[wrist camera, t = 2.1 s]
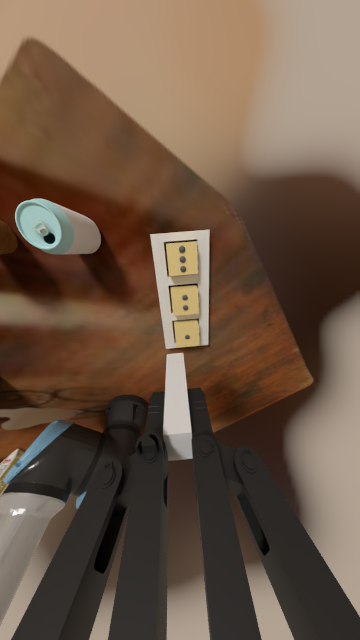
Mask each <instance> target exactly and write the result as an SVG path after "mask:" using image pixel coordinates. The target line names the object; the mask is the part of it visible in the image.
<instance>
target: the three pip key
mask: <svg viewBox="0 0 360 640" xmlns="http://www.w3.org/2000/svg"><path fill="white" fill-rule="evenodd" d="M166 250H167V260H168V270H169V276H178V275H190V274H198V254H197V251H198V245H197V241H193V242H181V243H168V244H166Z"/></svg>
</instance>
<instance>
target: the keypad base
mask: <svg viewBox="0 0 360 640" xmlns="http://www.w3.org/2000/svg"><path fill="white" fill-rule="evenodd" d="M150 236H151V244H152V251H153V258H154V265H155V272H156V280H157V287H158V294H159V301H160V308H161V316H162V323H163V330H164V337H165V345H166V349H169V348H176V339H174V331H173V322H172V321H175V320H186V319H198V324H199V333H200V336H199V346H201V345H208V331H209V230H200V231H188V232H175V233H162V234H150ZM191 240H196V241H197V245H198V251H197V254H198V274H190V275H178V276H169V275H167V265H166V256H165V247H164V243H166V242H178V241H191ZM195 283H197V287H198V293H199V298H198V301H199V314H190V315H179V316H173V310H171V303H170V294H169V286H171V285H183V284H195Z"/></svg>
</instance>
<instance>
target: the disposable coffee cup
mask: <svg viewBox="0 0 360 640" xmlns="http://www.w3.org/2000/svg"><path fill="white" fill-rule="evenodd" d="M17 244H18V243H17V238H16V235H15V233H14V232H13V230H12V229H11V228H10V227H9V226H8V225H7V224H6V223H4V222H2V221H1V220H0V254H6V253H12V252H14V251H15V250H16V248H17Z"/></svg>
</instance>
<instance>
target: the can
mask: <svg viewBox="0 0 360 640" xmlns="http://www.w3.org/2000/svg"><path fill="white" fill-rule="evenodd" d="M15 220H16V224H17V227H18V229H19V231H20V233H21V234H22V236H23V237H24V238H25V239H26V240H27V241H28V242H29V243H31V244H32V245H33V246H35V247H37V248H39V249H41V250H43V251H45V252H47V253H50V254H91V253H94V252H95V251H97V250H98V248H99V247H100V244H101V235H100V232H99V229H98V227H97V226H96V224H95V223H94V222H93V221H92V220H91V219H89V218H88V217H86V216H83V215H81V214H79V213H76V212H74V211H72V210H69V209H67V208H64V207H62V206H60V205H57V204H55V203H53V202H50V201H48V200H45V199H32V200H29V201H24V202H22V203H21V204H20V205H19V206H18V207H17V209H16V213H15Z"/></svg>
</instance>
